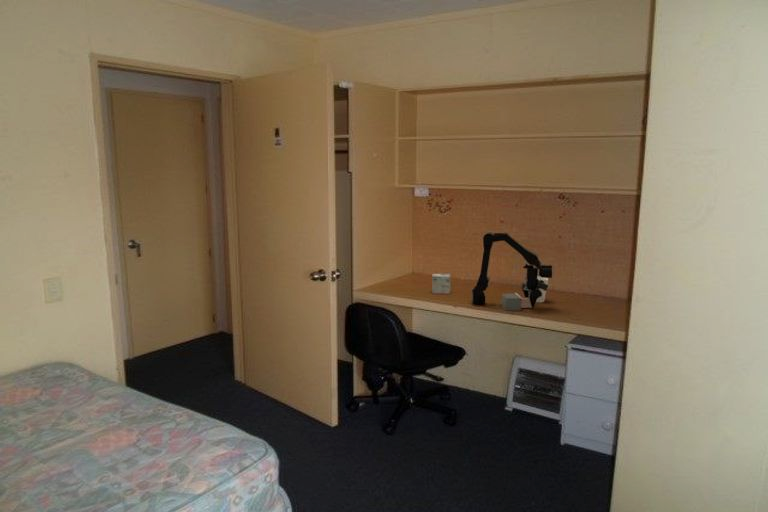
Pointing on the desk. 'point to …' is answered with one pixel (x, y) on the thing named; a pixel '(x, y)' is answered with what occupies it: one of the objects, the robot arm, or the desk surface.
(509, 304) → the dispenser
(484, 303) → the robot arm
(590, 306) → the desk surface
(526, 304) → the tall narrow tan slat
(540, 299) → the foam cup
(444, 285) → the light bulb box
